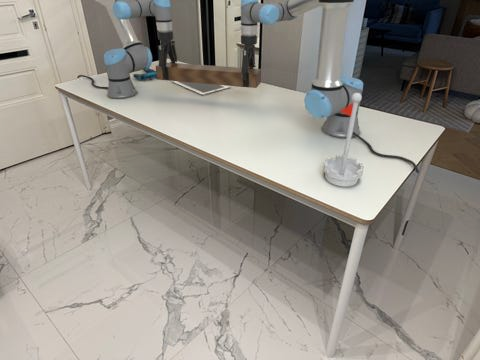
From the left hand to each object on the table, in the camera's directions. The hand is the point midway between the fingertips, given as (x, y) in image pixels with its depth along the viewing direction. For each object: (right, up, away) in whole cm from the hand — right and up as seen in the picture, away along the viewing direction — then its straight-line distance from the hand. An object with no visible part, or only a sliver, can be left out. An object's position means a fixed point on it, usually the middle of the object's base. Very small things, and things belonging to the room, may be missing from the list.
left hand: (170, 77), depth 179 cm
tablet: (+13, +3, +26) cm, 29 cm away
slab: (+21, -4, -5) cm, 22 cm away
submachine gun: (-17, +16, +46) cm, 52 cm away
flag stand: (+72, -54, -61) cm, 109 cm away
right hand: (+41, -6, -11) cm, 43 cm away
